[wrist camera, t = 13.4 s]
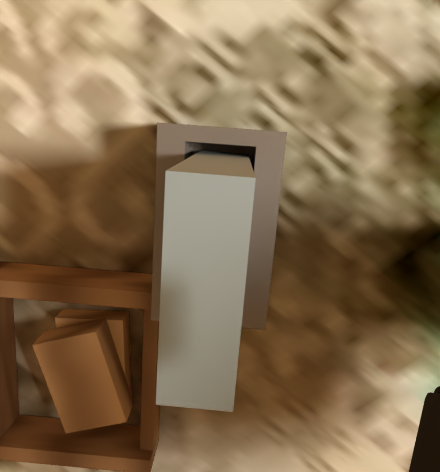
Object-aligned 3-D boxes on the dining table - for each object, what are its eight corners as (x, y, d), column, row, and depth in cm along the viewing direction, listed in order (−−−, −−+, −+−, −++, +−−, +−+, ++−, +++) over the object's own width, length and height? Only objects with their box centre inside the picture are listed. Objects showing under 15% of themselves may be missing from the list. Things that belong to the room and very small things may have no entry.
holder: (278, 131, 28) (286, 132, 23) (261, 298, 31) (265, 329, 26) (171, 123, 28) (157, 122, 23) (164, 290, 31) (150, 320, 26)
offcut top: (105, 317, 30) (95, 331, 28) (133, 402, 32) (126, 422, 30) (46, 330, 31) (32, 345, 28) (76, 413, 32) (65, 433, 30)
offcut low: (130, 307, 32) (122, 320, 30) (134, 398, 34) (126, 416, 32) (67, 305, 33) (54, 317, 30) (74, 395, 34) (63, 412, 32)
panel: (247, 153, 27) (255, 177, 14) (236, 282, 30) (233, 412, 16) (202, 150, 27) (165, 170, 14) (193, 278, 30) (155, 404, 16)
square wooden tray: (165, 275, 31) (156, 293, 27) (158, 440, 34) (149, 474, 31) (-6, 260, 31) (-36, 277, 28) (5, 425, 35) (-20, 457, 31)
